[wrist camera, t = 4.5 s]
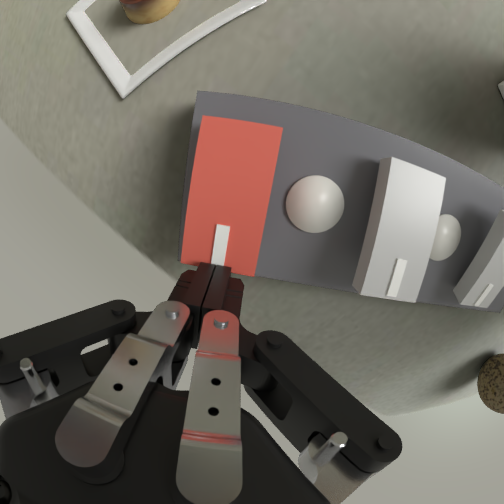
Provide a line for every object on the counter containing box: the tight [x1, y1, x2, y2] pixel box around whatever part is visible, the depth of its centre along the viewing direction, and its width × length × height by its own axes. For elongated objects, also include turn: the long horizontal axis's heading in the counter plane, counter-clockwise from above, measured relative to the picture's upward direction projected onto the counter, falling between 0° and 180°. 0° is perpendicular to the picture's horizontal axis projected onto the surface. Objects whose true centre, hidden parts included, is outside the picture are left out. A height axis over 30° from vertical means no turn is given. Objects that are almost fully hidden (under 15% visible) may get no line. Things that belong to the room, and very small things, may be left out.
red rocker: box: [181, 115, 283, 277], centre depth 13 cm, size 4×7×2 cm, turn 170°
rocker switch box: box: [178, 91, 504, 313], centre depth 17 cm, size 28×10×4 cm, turn 80°
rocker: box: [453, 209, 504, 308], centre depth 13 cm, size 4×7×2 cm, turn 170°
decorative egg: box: [477, 354, 504, 414], centre depth 21 cm, size 7×7×10 cm
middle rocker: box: [352, 157, 446, 303], centre depth 13 cm, size 4×7×2 cm, turn 170°
